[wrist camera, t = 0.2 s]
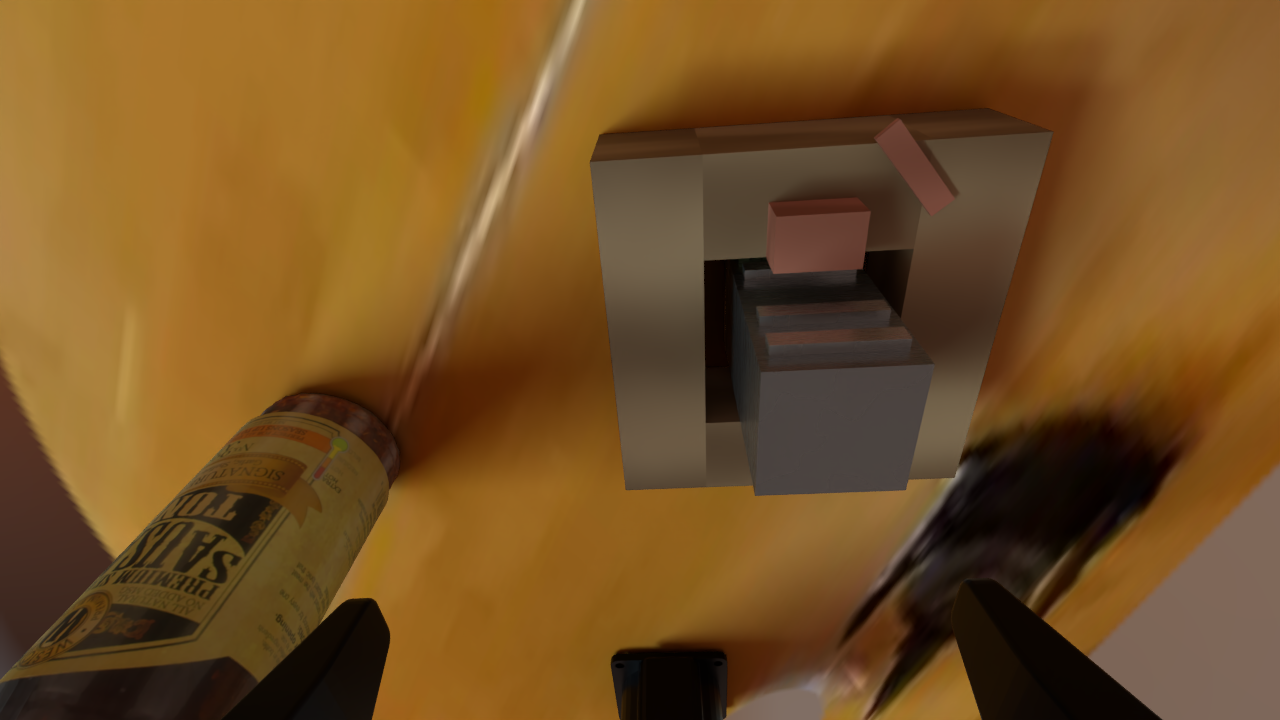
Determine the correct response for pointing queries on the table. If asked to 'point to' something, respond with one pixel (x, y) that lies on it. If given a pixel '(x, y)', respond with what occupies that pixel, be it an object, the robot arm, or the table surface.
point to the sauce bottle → (218, 574)
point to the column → (822, 380)
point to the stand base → (804, 260)
